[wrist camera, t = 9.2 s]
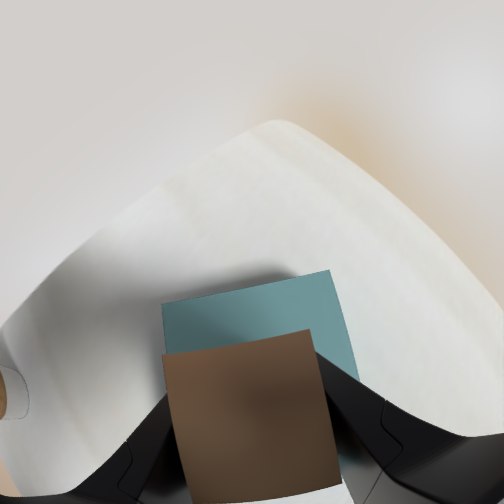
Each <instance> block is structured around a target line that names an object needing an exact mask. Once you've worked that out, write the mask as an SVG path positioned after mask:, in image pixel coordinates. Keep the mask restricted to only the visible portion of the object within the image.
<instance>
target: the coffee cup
mask: <svg viewBox="0 0 504 504" xmlns="http://www.w3.org/2000/svg"><path fill="white" fill-rule="evenodd" d="M28 407H29V397H28V391H27V387H26V384H25V382H24V380H23V378H22V376H21V375H20V374H19V373H18V372H17V371H15V370H12V369H9V368H6V367H3V366H1V365H0V419H21V418H24V417H25V416H26V414H27V412H28Z"/></svg>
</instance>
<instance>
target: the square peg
mask: <svg viewBox="0 0 504 504" xmlns="http://www.w3.org/2000/svg"><path fill="white" fill-rule="evenodd" d="M162 360H163V368H164V375H165V382H166V389H167V395H168V401H169V407H170V412H171V417H172V423H173V428H174V432H175V437H176V442H177V446H178V451H179V455H180V459H181V463H182V467H183V471H184V474H185V478H186V482H187V485H188V489H189V492H190V495H191V499H192V502H193V504H227V503H243V502H253V501H262V500H270V499H277V498H283V497H288V496H294V495H299V494H303V493H308V492H312V491H316V490H320V489H324V488H328V487H332V486H335V485H338V484H342V478H341V472H340V466H339V461H338V456H337V450H336V445H335V440H334V435H333V430H332V425H331V420H330V415H329V411H328V406H327V401H326V397H325V392H324V387H323V383H322V379H321V374H320V370H319V366H318V361H317V357H316V353H315V349H314V344H313V340H312V336H311V332H310V329H306V330H302V331H297V332H293V333H289V334H284V335H280V336H275V337H271V338H266V339H261V340H256V341H251V342H246V343H240V344H235V345H229V346H223V347H217V348H211V349H204V350H198V351H191V352H183V353H175V354H167V355H162Z"/></svg>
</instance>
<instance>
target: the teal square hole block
mask: <svg viewBox="0 0 504 504" xmlns="http://www.w3.org/2000/svg"><path fill="white" fill-rule="evenodd" d="M162 314H163V325H164V335H165V344H166V353H167V354H175V353H183V352H191V351H198V350H204V349H211V348H217V347H223V346H229V345H235V344H240V343H246V342H251V341H256V340H261V339H266V338H271V337H275V336H280V335H284V334H289V333H293V332H297V331H302V330H306V329H310V332H311V336H312V340H313V344H314V349H315V351H316V352H318V353H319V354H321V355H322V356H323V357H325V358H326V359H328V360H329V361H330V362H332V363H333V364H335V365H336V366H338V367H339V368H340V369H342V370H343V371H345V372H346V373H348V374H349V375H350V376H352V377H353V378H355V379H356V380H358V381H359V382H360V379H359V375H358V370H357V366H356V362H355V358H354V354H353V350H352V346H351V342H350V339H349V335H348V331H347V328H346V324H345V320H344V317H343V313H342V310H341V306H340V303H339V300H338V296H337V293H336V290H335V286H334V283H333V280H332V277H331V274H330V270H326V271H321V272H317V273H313V274H308V275H304V276H300V277H295V278H291V279H286V280H282V281H277V282H272V283H268V284H263V285H258V286H253V287H249V288H244V289H239V290H234V291H229V292H224V293H219V294H214V295H208V296H203V297H198V298H192V299H187V300H182V301H176V302H170V303H165V304H162ZM341 478H343V476H342V474H341Z"/></svg>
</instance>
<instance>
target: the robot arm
mask: <svg viewBox="0 0 504 504" xmlns="http://www.w3.org/2000/svg"><path fill="white" fill-rule="evenodd" d="M315 353H316V357H317V361H318V366H319V370H320V374H321V379H322V383H323V387H324V392H325V397H326V401H327V406H328V411H329V415H330V420H331V425H332V430H333V435H334V440H335V445H336V450H337V456H338V461H339V466H340V472H341V474H342V476H343V479H344V481H345V483H346V486H347V488H348V490H349V492H350V495H351V497H352V499H353V501H354V504H504V433H500V434H494V435H486V436H478V437H466V436H461V435H457V434H454V433H451V432H449V431H446V430H444V429H442V428H439V427H437V426H435V425H432V424H430V423H428V422H425V421H423V420H421V419H419V418H417V417H415V416H413V415H411V414H409V413H407V412H405V411H404V410H402V409H400V408H399V407H397V406H395V405H394V404H392V403H391V402H389V401H388V400H386V401H385V399H384V398H383V397H381V396H380V395H378V394H377V393H375V392H374V391H372V390H371V389H369V388H368V387H367V386H365V385H364V384H362V383H361V382H359V381H358V380H356V379H355V378H353V377H352V376H350V375H349V374H348V373H346V372H345V371H343V370H342V369H340V368H339V367H338V366H336V365H335V364H333V363H332V362H330V361H329V360H328V359H326V358H325V357H323V356H322V355H321V354H319V353H318V352H316V351H315ZM126 441H127V442H126ZM126 441H125V442H124V443H123V444H122V445H121V446H120V447H119V449H118V450H117V451H116V452H115V453H114V454H113V455H112V456H111V457H110V458H109V459H108V460H107V461H106V462H105V463H104V464H103V465H102V466H101V467H99V468H98V469H97V470H96V471H95V472H94V473H93V474H91V475H90V476H89V477H88V478H87V479H86V480H84V481H83V482H82V483H81V484H80V485H78V486H77V487H76V488H74V489H73V490H71V491H69V492H66V493H63V494H57V495H47V496H34V497H8V496H4V495H1V494H0V504H193V502H192V499H191V495H190V492H189V489H188V485H187V482H186V478H185V474H184V471H183V467H182V463H181V459H180V455H179V451H178V446H177V442H176V437H175V432H174V428H173V423H172V417H171V412H170V407H169V401H168V395H167V393H166V394H165V395H164V397H163V398H162V399H161V400H160V401H159V403H158V404H157V405H156V406H155V407H154V408H153V410H152V411H151V412H150V413H149V414H148V415H147V417H146V418H145V419H144V420H143V421H142V422H141V424H140V425H139V426H138V427H137V428H136V429H135V430H134V432H133V433H132V434H131V435H130V436H129V437H128V438H127V440H126Z"/></svg>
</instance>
